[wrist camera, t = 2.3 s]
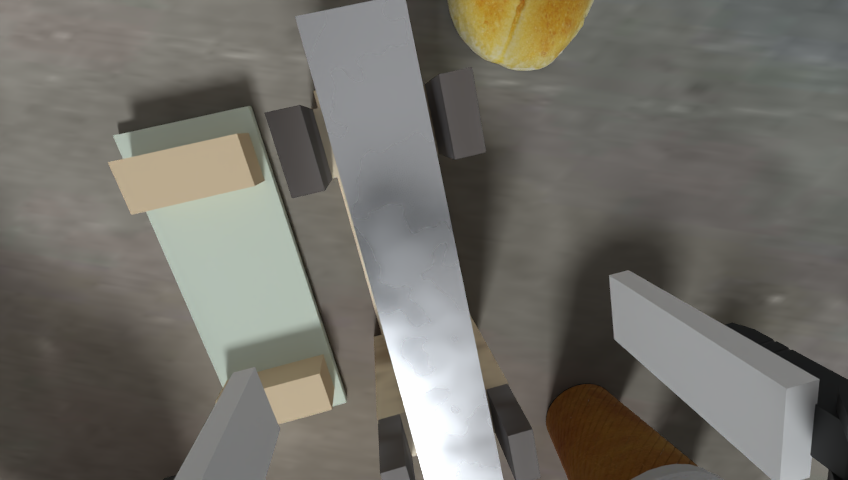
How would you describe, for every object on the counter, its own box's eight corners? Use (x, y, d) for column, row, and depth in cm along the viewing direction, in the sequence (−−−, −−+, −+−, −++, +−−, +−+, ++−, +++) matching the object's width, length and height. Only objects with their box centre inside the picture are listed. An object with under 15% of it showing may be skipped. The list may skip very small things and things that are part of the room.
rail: (433, 486, 23) (446, 557, 20) (311, 42, 16) (294, 16, 12) (490, 469, 24) (514, 535, 20) (395, 24, 17) (404, -7, 13)
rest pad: (244, 425, 31) (231, 456, 28) (119, 135, 24) (85, 136, 21) (346, 397, 31) (344, 424, 28) (251, 106, 25) (236, 103, 22)
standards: (388, 386, 31) (401, 543, 20) (304, 94, 25) (247, 66, 13) (478, 361, 32) (545, 500, 20) (418, 69, 26) (465, 20, 14)
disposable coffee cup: (507, 412, 34) (579, 558, 22) (600, 345, 33) (723, 460, 22) (561, 477, 37) (650, 636, 25) (648, 417, 36) (779, 552, 25)
